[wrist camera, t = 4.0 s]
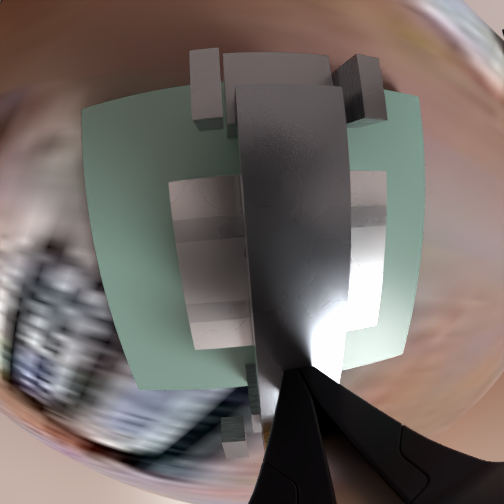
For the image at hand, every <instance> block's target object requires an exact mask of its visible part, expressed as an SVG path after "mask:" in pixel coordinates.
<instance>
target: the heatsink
mask: <svg viewBox="0 0 504 504" xmlns="http://www.w3.org/2000/svg"><path fill="white" fill-rule="evenodd" d="M168 184H169V194H170V203H171V212H172V220H173V228H174V236H175V243H176V249H177V256H178V263H179V269H180V275H181V281H182V287H183V292H184V298H185V303H186V309H187V314H188V319H189V324H190V329H191V334H192V338H193V343H194V348H195V350H202V349H216V348H228V347H239V346H249V345H254V341H253V329H252V317H251V305H250V293H249V281H248V269H247V257H246V245H245V232H244V220H243V207H242V194H241V181H240V174H230V175H219V176H209V177H200V178H191V179H183V180H178V181H172V182H168ZM350 185H351V263H350V284H349V300H348V313H347V324H346V331H349V330H354V329H358V328H363V327H368V326H372V325H376V323H377V317H378V310H379V303H380V296H381V288H382V277H383V267H384V254H385V238H386V218H387V180H386V171H372V170H350Z"/></svg>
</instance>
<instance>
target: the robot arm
mask: <svg viewBox="0 0 504 504" xmlns="http://www.w3.org/2000/svg"><path fill="white" fill-rule="evenodd" d="M502 32H503V35H504V29H503V30H502ZM248 504H504V462H491V461H485V460H481V459H478V458H475V457H473V456H470V455H467V454H464V453H461V452H459V451H456V450H453V449H451V448H448V447H446V446H443V445H441V444H439V443H437V442H434V441H432V440H430V439H428V438H426V437H424V436H422V435H421V434H419V433H417V432H415V431H413V430H412V429H410V428H408V427H407V426H405V425H402V424H401V423H400V422H398V421H396V420H395V419H393V418H392V417H390V416H388V415H387V414H385V413H384V412H382V411H380V410H379V409H377V408H376V407H374V406H372V405H371V404H369V403H368V402H366V401H365V400H363V399H362V398H360V397H359V396H357V395H356V394H354V393H353V392H351V391H350V390H348V389H347V388H345V387H344V386H342V385H341V384H339V383H338V382H336V381H335V380H333V379H332V378H330V377H329V376H327V375H326V374H325V373H323V372H322V371H320V370H319V369H317V368H316V367H314V366H308V367H302V368H300V369H299V370H298V369H290V370H285V371H284V372H283V376H282V381H281V386H280V390H279V395H278V400H277V404H276V409H275V413H274V418H273V422H272V426H271V430H270V435H269V439H268V443H267V447H266V451H265V455H264V458H263V463H262V465H261V469H260V473H259V476H258V479H257V482H256V486H255V489H254V492H253V494H252V496H251V498H250V501H249V503H248Z"/></svg>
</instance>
